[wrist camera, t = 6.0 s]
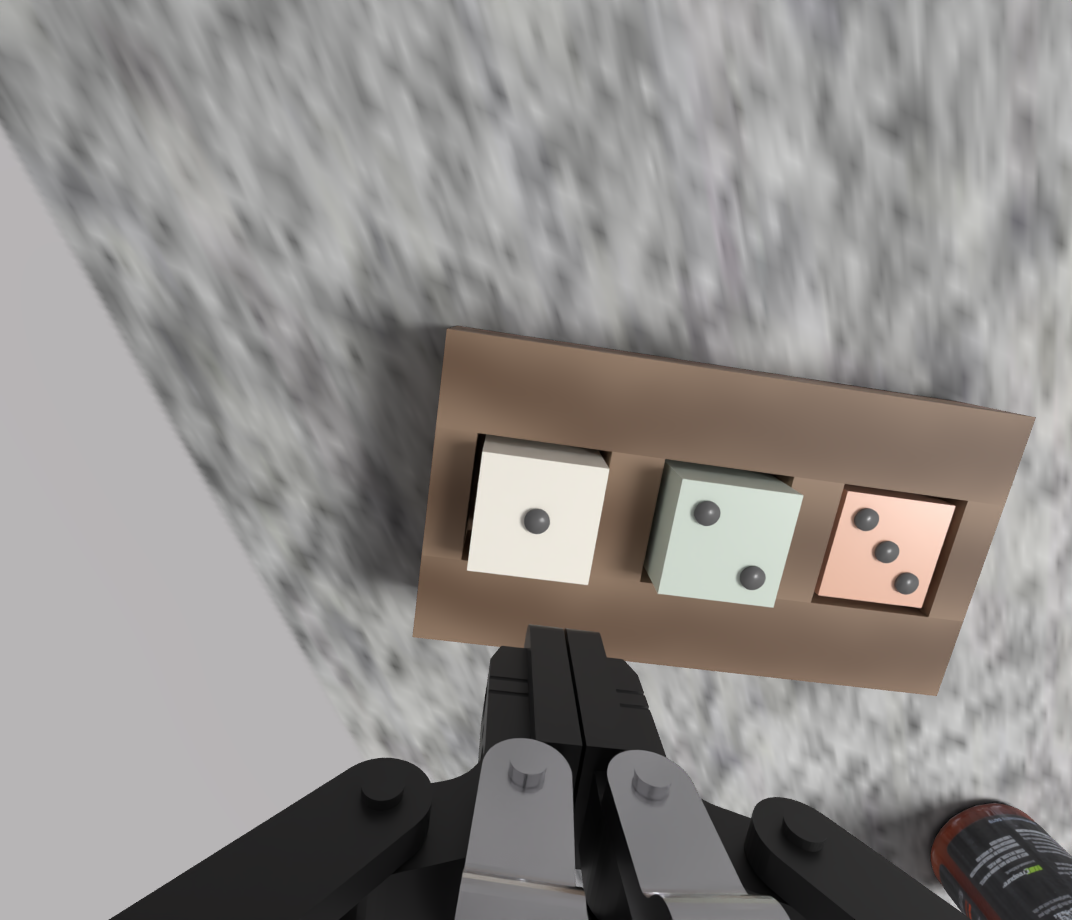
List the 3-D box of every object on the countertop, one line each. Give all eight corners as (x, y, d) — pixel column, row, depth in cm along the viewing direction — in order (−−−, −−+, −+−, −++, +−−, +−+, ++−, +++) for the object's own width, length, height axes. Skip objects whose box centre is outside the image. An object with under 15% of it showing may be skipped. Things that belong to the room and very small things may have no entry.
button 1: (486, 433, 23) (482, 452, 20) (597, 449, 23) (610, 469, 20) (472, 539, 24) (466, 572, 21) (578, 552, 24) (588, 587, 21)
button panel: (457, 325, 24) (446, 328, 21) (957, 401, 26) (1035, 417, 22) (426, 590, 27) (412, 637, 23) (879, 644, 29) (936, 695, 25)
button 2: (661, 457, 24) (684, 479, 20) (768, 472, 24) (805, 496, 21) (640, 560, 25) (658, 595, 22) (742, 572, 25) (775, 609, 22)
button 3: (809, 470, 26) (850, 492, 23) (906, 483, 26) (958, 507, 23) (784, 564, 27) (819, 597, 24) (877, 575, 27) (923, 609, 24)
